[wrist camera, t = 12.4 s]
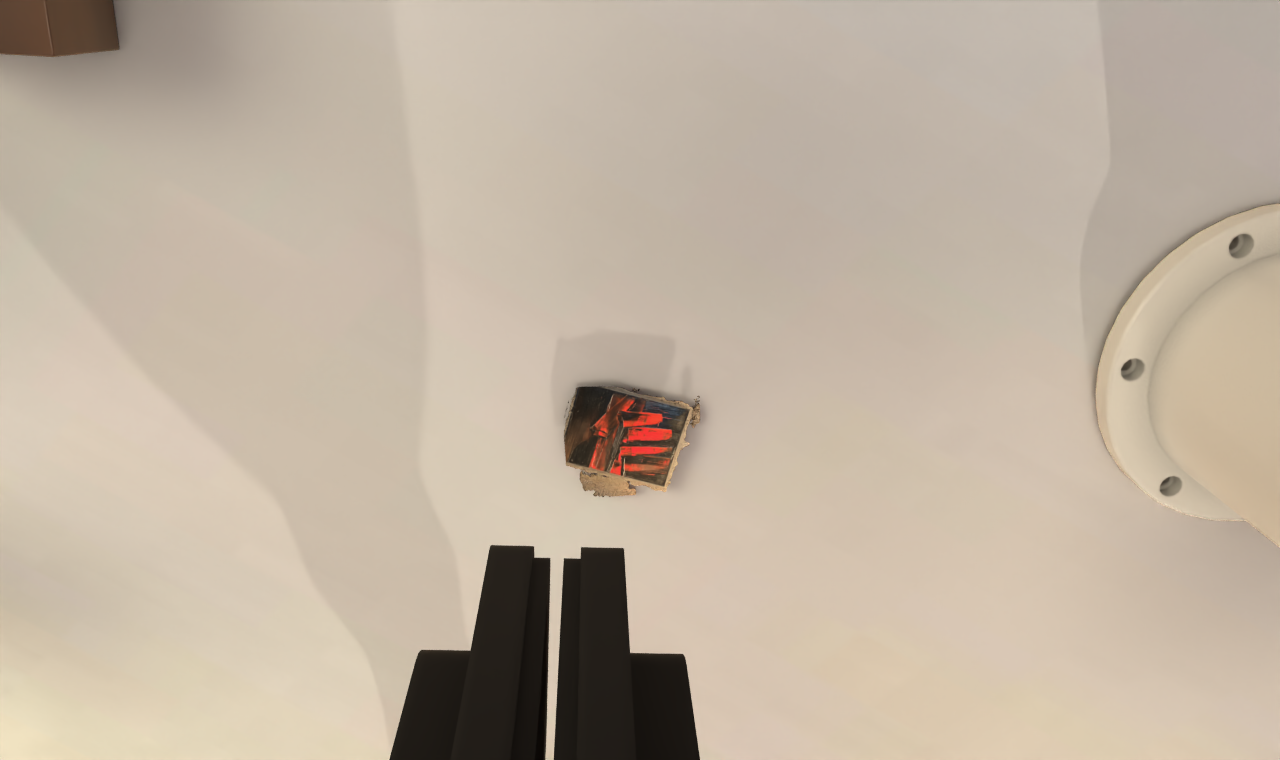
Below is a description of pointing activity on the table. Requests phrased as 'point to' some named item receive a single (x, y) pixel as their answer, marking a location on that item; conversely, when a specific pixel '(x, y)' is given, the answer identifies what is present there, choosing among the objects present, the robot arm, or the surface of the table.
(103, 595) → the table surface
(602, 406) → the painted wall fragment
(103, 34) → the walnut block
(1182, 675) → the table surface
